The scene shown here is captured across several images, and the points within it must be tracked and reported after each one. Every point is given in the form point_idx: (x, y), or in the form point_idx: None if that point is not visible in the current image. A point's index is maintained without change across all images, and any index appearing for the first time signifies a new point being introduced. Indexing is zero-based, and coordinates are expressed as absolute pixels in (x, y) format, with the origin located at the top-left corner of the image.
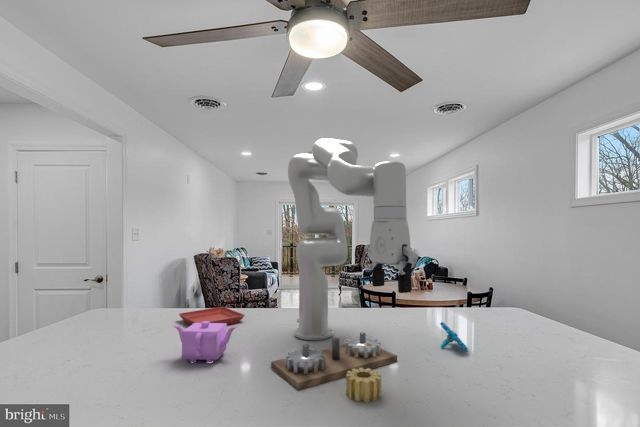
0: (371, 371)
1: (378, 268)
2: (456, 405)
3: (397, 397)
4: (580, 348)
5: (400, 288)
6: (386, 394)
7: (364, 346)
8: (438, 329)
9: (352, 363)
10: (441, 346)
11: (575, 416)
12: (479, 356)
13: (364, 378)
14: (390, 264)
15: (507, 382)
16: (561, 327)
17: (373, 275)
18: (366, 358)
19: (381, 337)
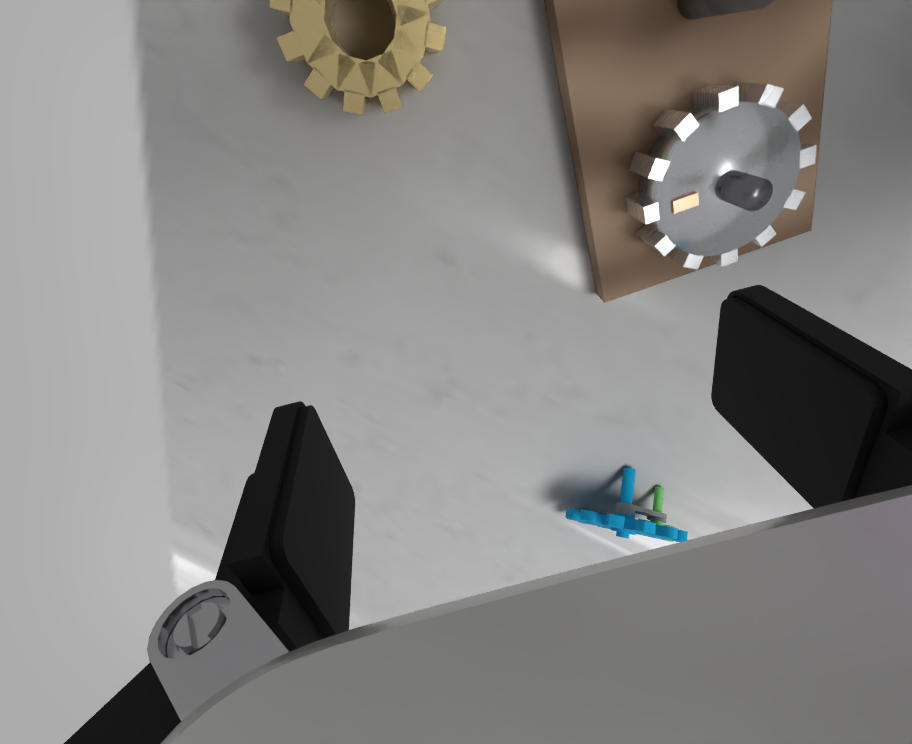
0: (391, 79)
1: (889, 479)
2: (250, 326)
3: (318, 161)
4: None
5: (270, 437)
6: (346, 128)
7: (676, 171)
8: None
9: (607, 69)
10: (628, 470)
11: (193, 534)
12: (534, 524)
13: (317, 2)
14: (315, 645)
15: (369, 504)
16: None
17: (829, 347)
18: (630, 163)
19: None
